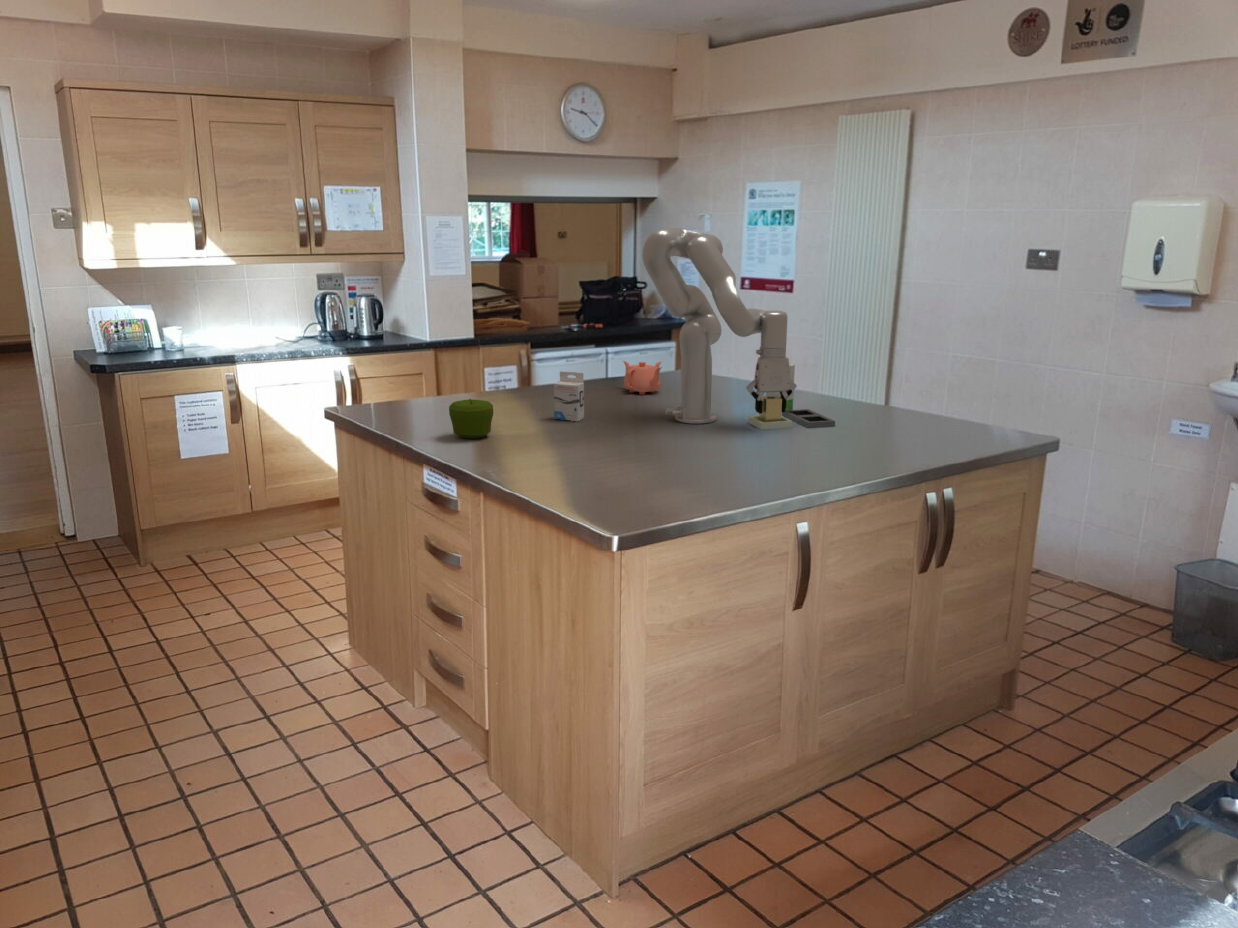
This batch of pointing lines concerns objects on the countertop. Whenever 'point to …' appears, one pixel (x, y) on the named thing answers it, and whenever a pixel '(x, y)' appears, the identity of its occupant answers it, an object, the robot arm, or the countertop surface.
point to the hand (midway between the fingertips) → (770, 411)
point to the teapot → (642, 378)
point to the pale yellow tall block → (771, 409)
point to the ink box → (569, 397)
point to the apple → (471, 418)
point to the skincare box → (790, 399)
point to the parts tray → (770, 423)
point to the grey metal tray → (808, 418)
